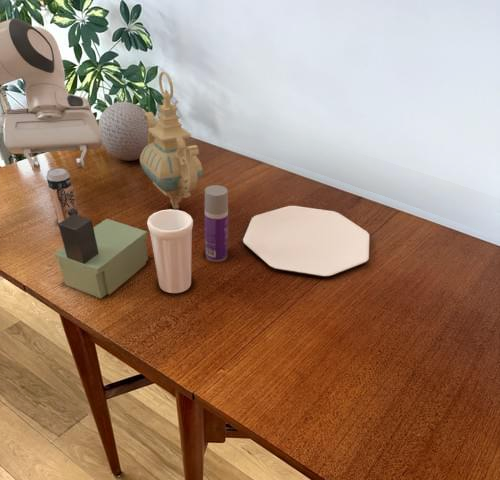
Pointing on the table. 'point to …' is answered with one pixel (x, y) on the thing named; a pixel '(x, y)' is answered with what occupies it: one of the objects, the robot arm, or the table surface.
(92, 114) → the robot arm
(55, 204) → the white lidded canister
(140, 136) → the decorative ball
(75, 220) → the block
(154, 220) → the cup
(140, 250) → the sage green lidded box
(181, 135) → the ornate tan lantern
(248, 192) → the table surface
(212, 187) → the container
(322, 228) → the plate
